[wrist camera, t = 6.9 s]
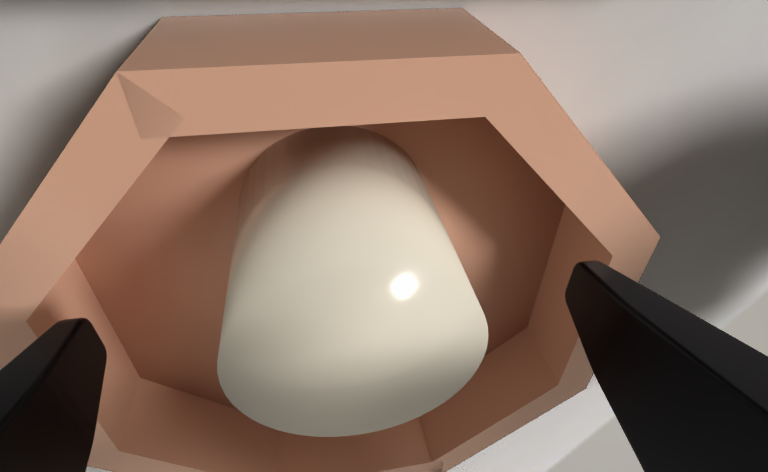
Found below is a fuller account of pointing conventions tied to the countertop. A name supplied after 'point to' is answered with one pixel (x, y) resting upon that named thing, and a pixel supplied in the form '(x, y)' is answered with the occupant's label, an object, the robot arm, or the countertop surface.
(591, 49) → the countertop surface
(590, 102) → the countertop surface
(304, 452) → the bowl
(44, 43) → the countertop surface
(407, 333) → the pebble sand
